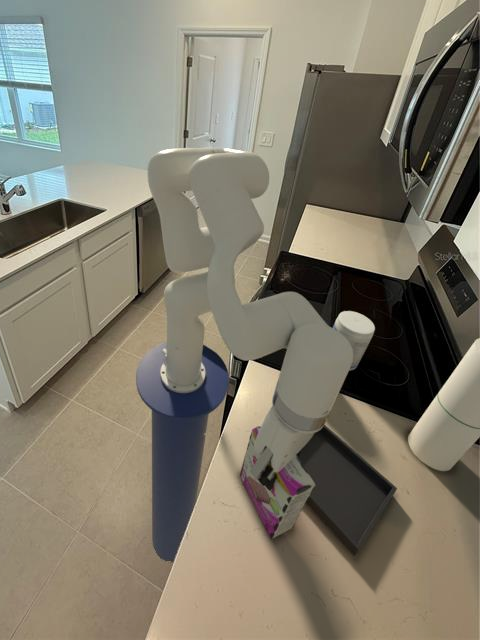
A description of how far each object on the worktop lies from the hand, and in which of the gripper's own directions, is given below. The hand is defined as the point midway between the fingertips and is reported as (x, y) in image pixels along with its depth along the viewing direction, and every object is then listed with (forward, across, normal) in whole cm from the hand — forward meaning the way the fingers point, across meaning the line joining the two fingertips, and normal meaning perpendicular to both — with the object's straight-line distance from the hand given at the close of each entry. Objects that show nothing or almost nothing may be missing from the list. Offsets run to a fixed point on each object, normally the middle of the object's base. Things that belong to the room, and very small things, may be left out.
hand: (276, 468), depth 52 cm
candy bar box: (+12, 0, 0) cm, 12 cm away
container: (+12, -38, +16) cm, 43 cm away
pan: (+12, -14, +6) cm, 19 cm away
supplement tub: (+12, -46, -10) cm, 49 cm away
